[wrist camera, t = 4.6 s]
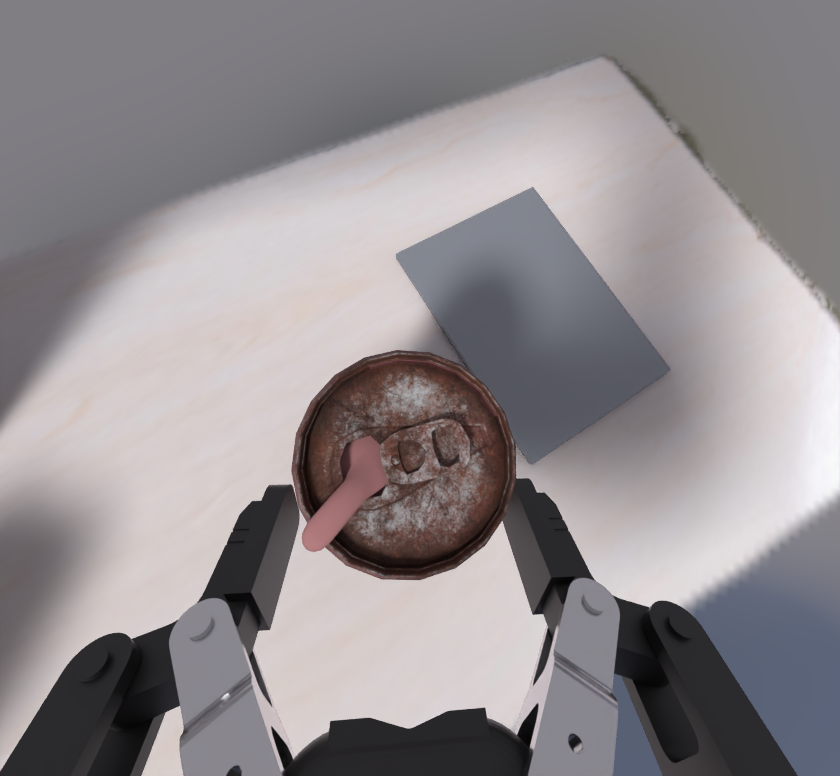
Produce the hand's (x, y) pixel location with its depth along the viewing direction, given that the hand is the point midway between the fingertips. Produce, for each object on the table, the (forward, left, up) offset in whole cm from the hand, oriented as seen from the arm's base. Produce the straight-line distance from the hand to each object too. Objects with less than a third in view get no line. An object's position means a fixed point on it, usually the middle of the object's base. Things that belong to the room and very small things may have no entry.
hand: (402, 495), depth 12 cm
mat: (+15, +5, -9) cm, 18 cm away
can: (+1, +1, -9) cm, 10 cm away
